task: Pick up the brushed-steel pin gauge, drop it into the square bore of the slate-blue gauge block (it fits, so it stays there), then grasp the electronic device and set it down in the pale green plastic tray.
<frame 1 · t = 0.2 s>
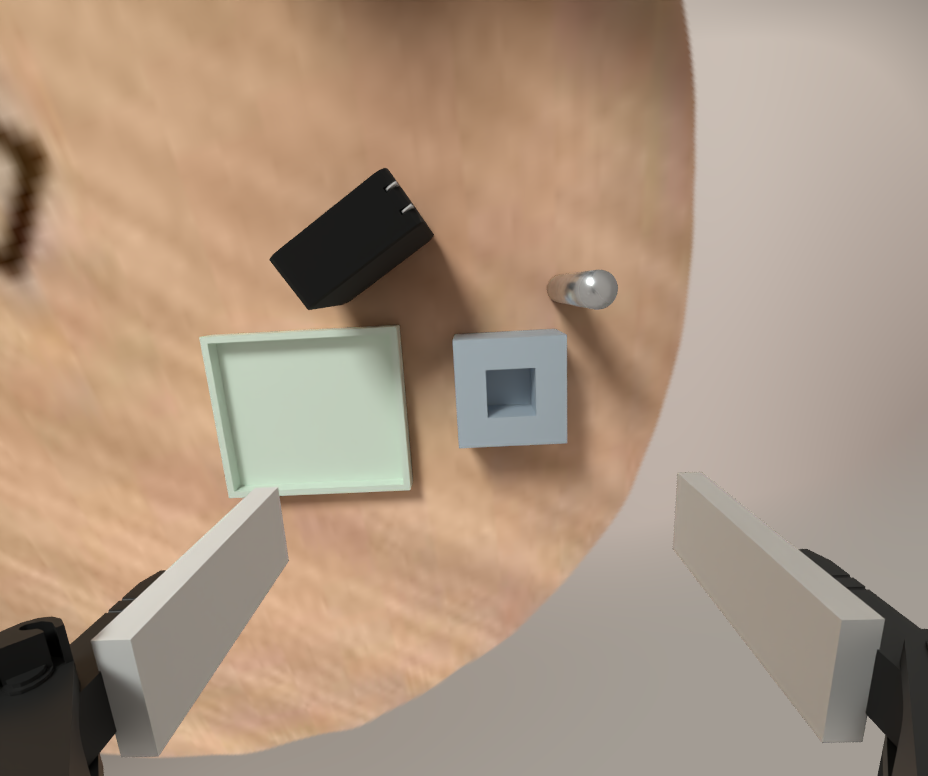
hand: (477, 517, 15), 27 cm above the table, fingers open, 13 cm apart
electronic device: (375, 251, 39), on the table
tray: (315, 410, 42), on the table
pin gauge: (560, 288, 39), on the table
gauge block: (506, 380, 41), on the table
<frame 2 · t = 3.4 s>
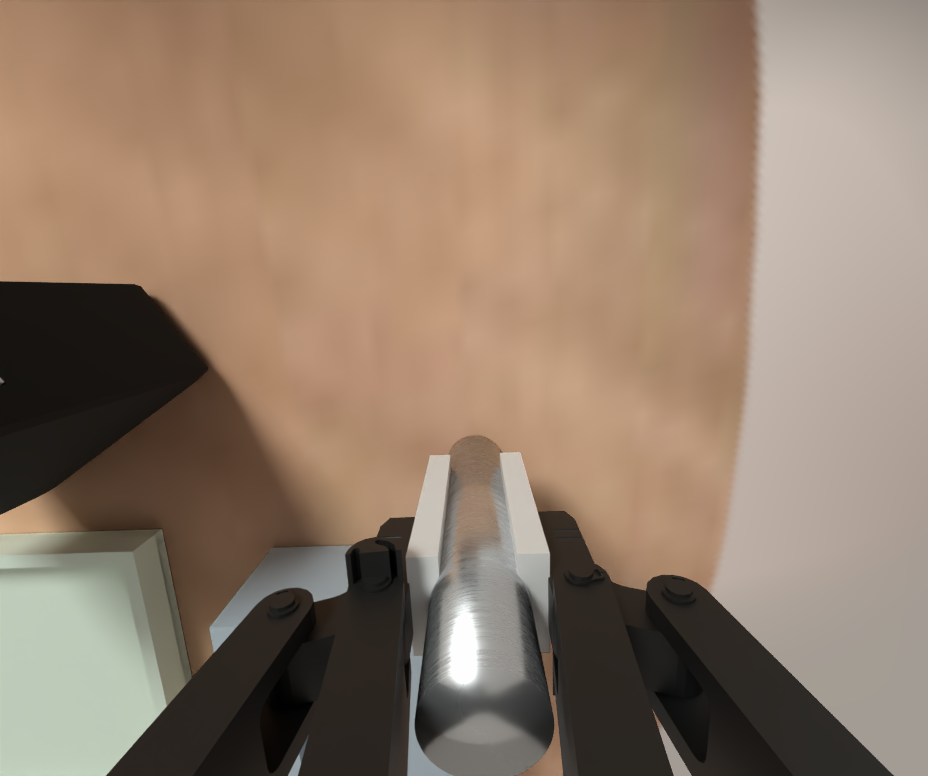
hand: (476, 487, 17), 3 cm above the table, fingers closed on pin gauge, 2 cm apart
electronic device: (101, 391, 19), on the table
tray: (19, 674, 22), on the table
pin gauge: (475, 462, 19), on the table, touching gripper
gauge block: (378, 630, 21), on the table
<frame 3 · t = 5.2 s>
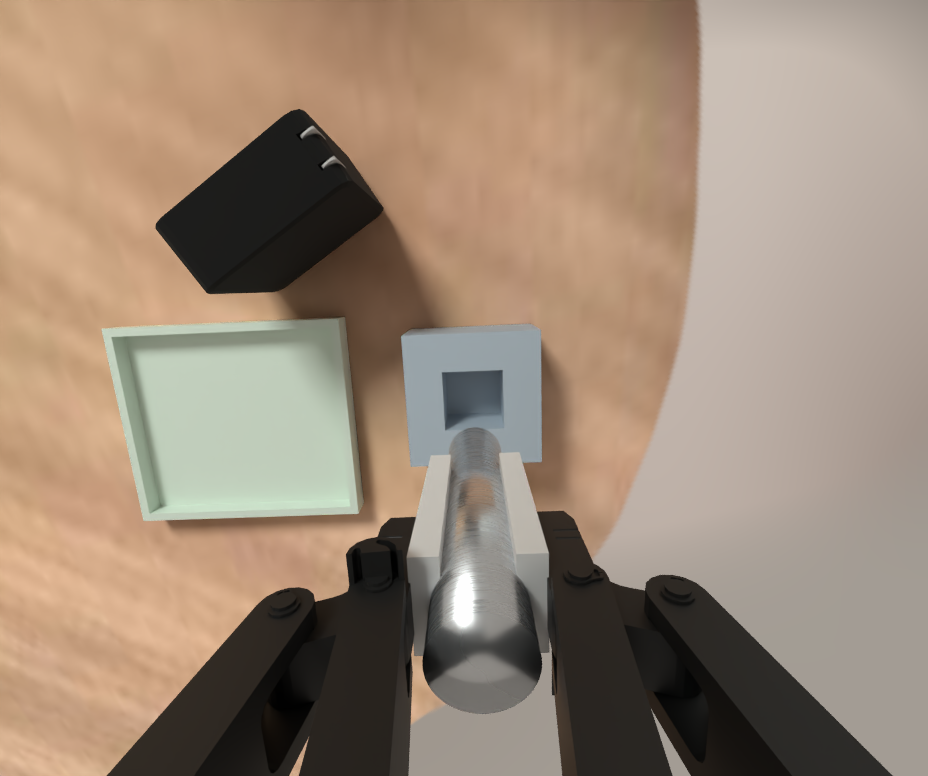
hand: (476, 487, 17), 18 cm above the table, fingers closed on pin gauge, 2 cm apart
electronic device: (315, 228, 33), on the table
tray: (247, 418, 36), on the table
pin gauge: (474, 452, 21), point 14 cm above the table, touching gripper
gauge block: (473, 384, 35), on the table
when the fingers open (6 cm above the table, at t = 7.5 s): pin gauge drops 1 cm, resting on gauge block.
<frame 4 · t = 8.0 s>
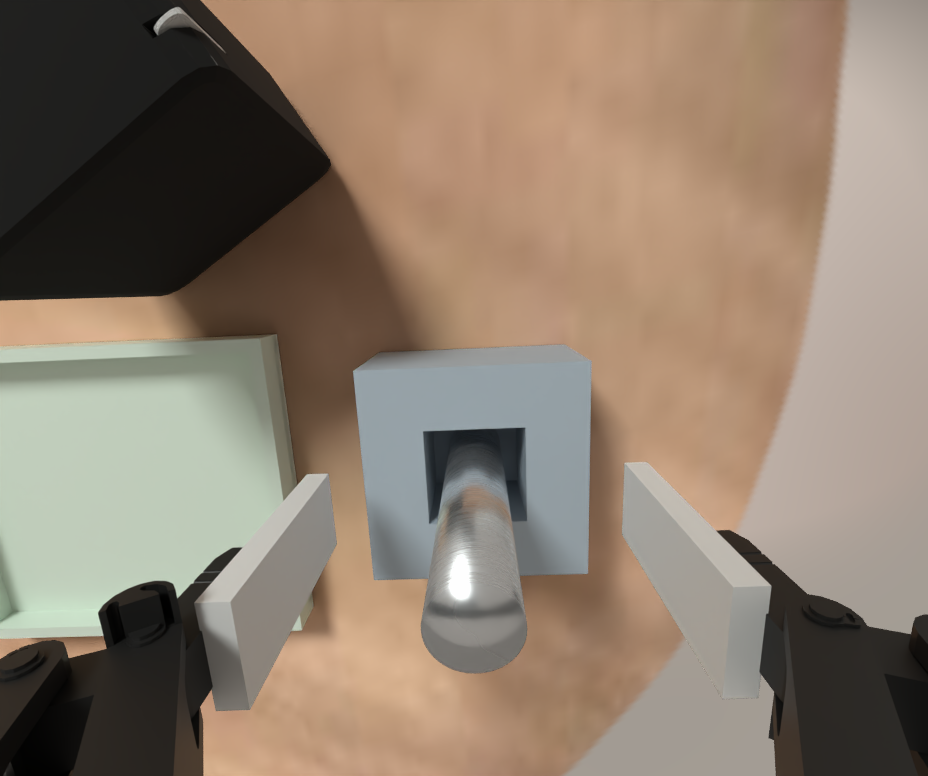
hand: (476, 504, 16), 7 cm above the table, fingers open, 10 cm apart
electronic device: (225, 196, 21), on the table
tray: (135, 485, 24), on the table
pin gauge: (475, 443, 22), point 1 cm above the table, touching gauge block
gauge block: (475, 436, 23), on the table
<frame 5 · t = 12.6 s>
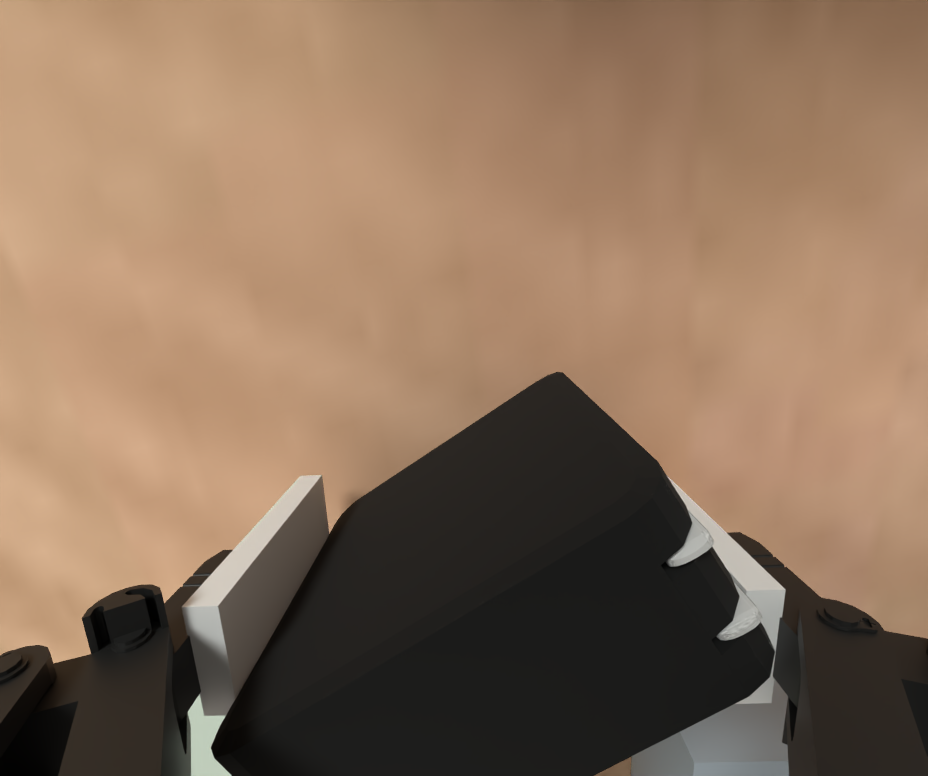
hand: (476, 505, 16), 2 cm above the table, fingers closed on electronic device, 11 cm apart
electronic device: (475, 479, 18), on the table, touching gripper
tray: (335, 768, 21), on the table
gauge block: (735, 724, 20), on the table
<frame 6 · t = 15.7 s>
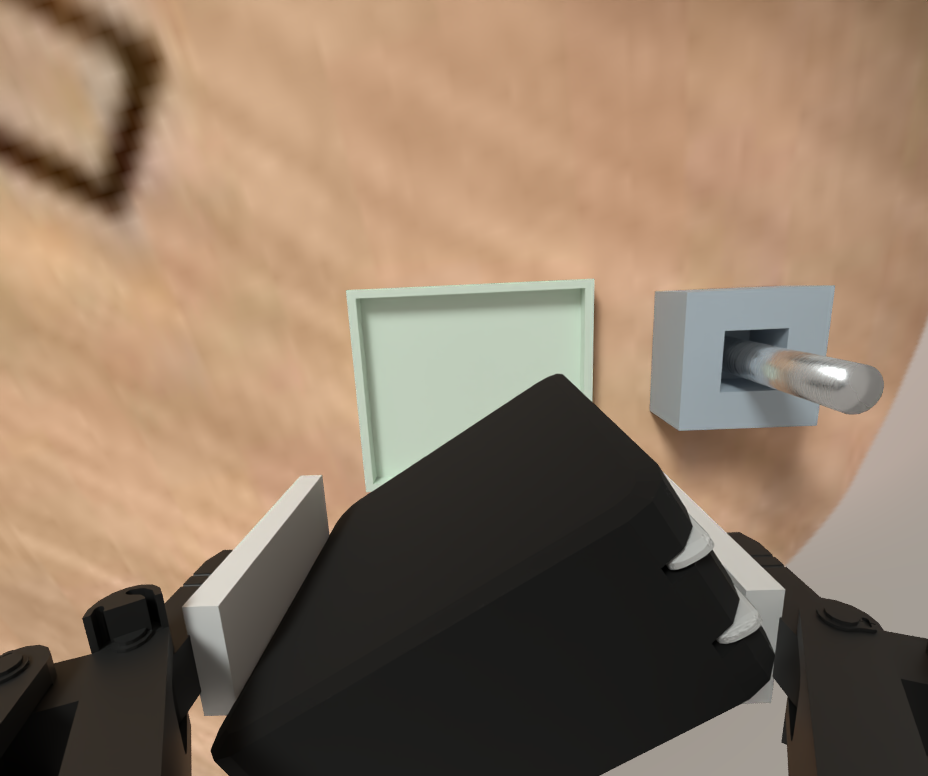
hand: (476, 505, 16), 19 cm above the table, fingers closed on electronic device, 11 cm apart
electronic device: (475, 480, 18), point 17 cm above the table, touching gripper
tray: (473, 386, 35), on the table
pin gauge: (720, 352, 33), point 1 cm above the table, touching gauge block
gauge block: (713, 350, 34), on the table
when the fingers open (3 cm above the table, at t = 19.1 s): electronic device stays where it is, resting on tray.
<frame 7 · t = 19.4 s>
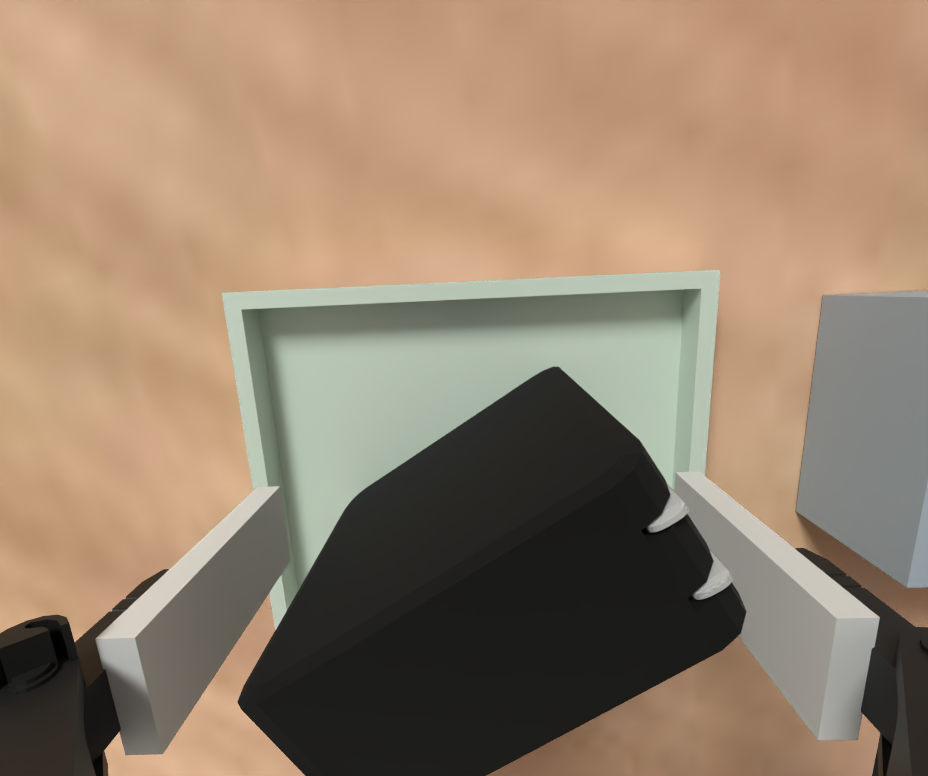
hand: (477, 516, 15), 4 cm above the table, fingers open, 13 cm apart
electronic device: (476, 469, 19), resting on tray
tray: (475, 467, 19), on the table
gauge block: (923, 404, 18), on the table
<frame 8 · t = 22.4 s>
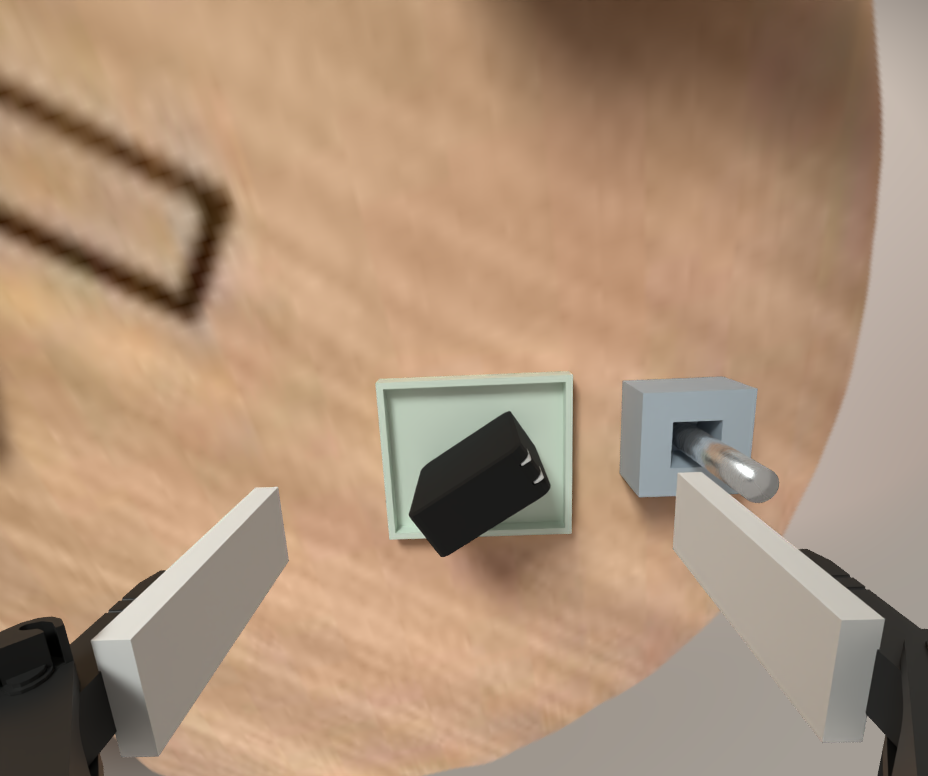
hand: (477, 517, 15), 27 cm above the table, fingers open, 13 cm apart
electronic device: (477, 454, 42), resting on tray
tray: (476, 453, 43), on the table
pin gauge: (674, 429, 41), point 1 cm above the table, touching gauge block
gauge block: (670, 426, 42), on the table
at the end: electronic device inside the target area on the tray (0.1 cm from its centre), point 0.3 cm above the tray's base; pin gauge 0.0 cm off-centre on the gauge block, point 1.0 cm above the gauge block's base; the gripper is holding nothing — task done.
